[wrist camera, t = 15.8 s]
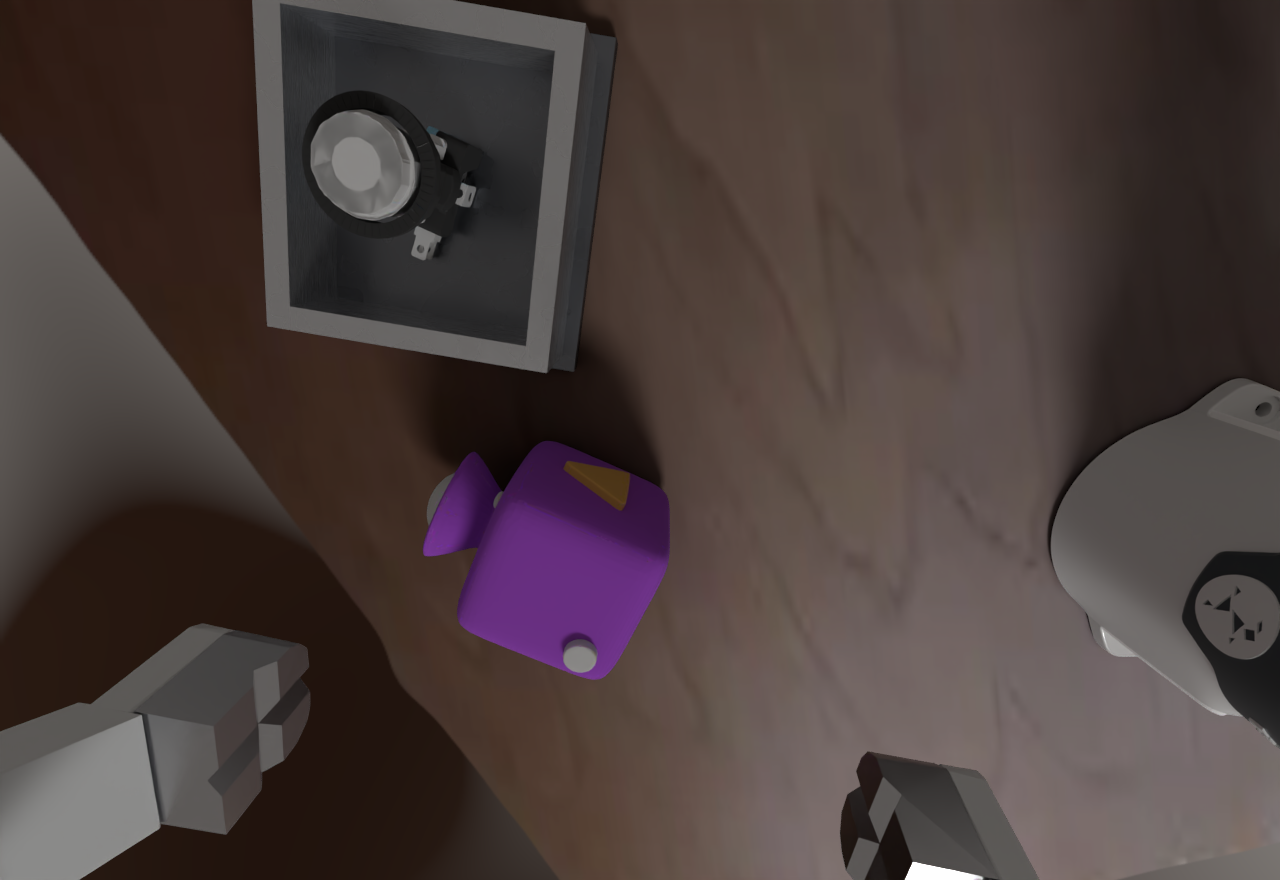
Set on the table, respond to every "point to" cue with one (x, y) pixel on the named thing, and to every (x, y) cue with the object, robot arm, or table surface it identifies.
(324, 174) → the push button
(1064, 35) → the table surface
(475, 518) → the toy camera
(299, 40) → the grey open box
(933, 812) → the robot arm
